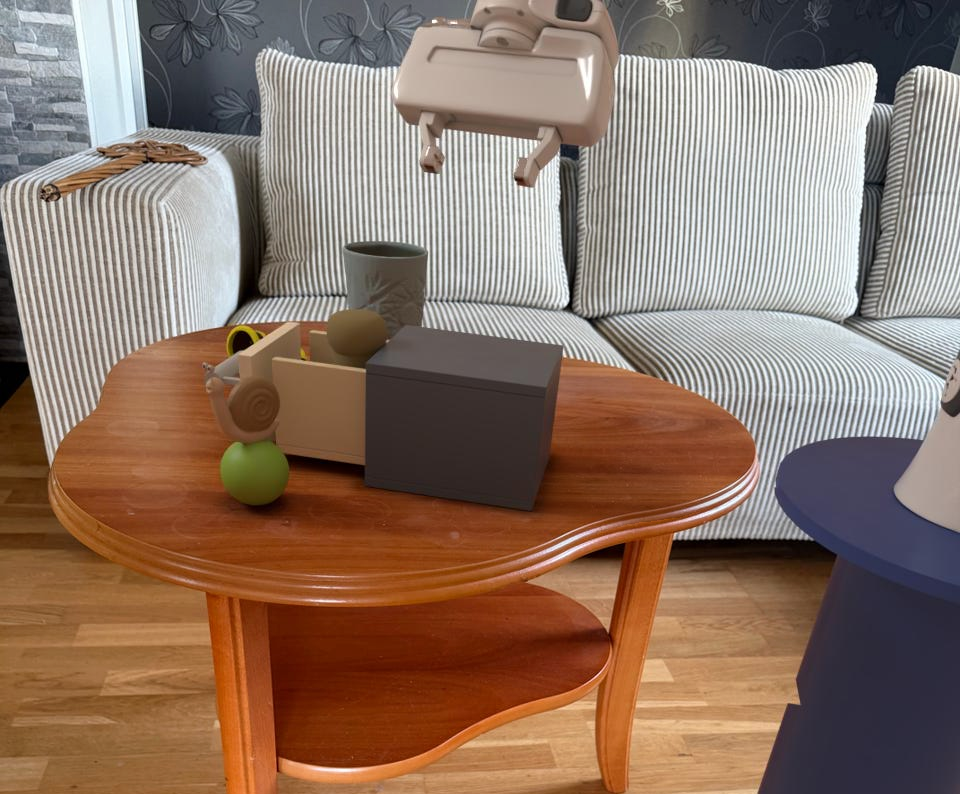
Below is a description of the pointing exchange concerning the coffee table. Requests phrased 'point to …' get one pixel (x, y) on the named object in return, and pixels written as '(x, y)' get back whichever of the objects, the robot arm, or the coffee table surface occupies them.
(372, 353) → the cork
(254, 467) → the snail figurine
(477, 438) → the cabinet
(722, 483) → the coffee table surface
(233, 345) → the opera glasses
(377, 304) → the grey embossed cup
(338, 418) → the drawer
